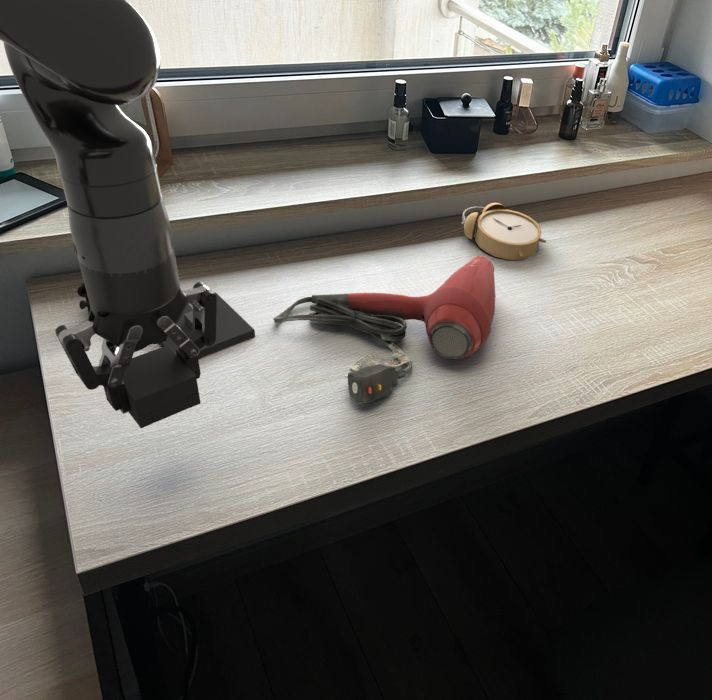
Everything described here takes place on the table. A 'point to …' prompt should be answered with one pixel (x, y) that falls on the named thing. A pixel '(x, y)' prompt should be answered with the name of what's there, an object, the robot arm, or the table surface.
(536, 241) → the alarm clock
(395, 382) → the hair dryer
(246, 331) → the base pad
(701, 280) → the table surface
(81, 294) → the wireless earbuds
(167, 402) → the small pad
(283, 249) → the table surface
